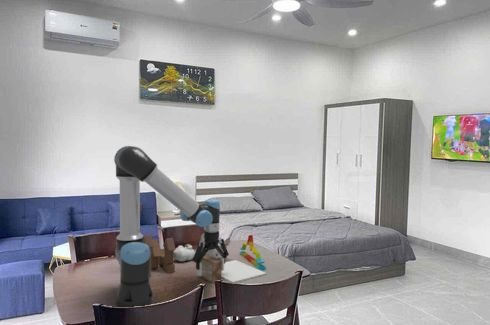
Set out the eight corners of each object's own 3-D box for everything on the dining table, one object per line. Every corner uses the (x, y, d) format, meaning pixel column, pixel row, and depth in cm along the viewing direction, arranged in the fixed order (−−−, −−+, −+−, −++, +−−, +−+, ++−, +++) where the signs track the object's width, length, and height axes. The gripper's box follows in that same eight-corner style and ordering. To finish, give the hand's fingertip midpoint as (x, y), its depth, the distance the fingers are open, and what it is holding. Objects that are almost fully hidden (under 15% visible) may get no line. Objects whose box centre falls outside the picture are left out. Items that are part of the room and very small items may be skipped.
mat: (232, 283, 177) (232, 281, 177) (203, 268, 197) (203, 267, 197) (266, 274, 191) (266, 273, 191) (235, 261, 211) (235, 260, 211)
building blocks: (139, 281, 176) (140, 208, 174) (128, 265, 198) (130, 201, 196) (177, 275, 185) (179, 206, 184) (164, 261, 207) (165, 199, 205)
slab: (212, 283, 176) (213, 262, 176) (199, 276, 186) (199, 256, 185) (221, 281, 180) (222, 260, 179) (207, 273, 189) (208, 254, 188)
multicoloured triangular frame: (265, 270, 198) (266, 242, 198) (260, 270, 197) (261, 243, 197) (244, 254, 226) (245, 230, 226) (239, 254, 225) (240, 230, 225)
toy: (194, 260, 212) (228, 262, 208) (194, 233, 211) (228, 235, 207) (199, 256, 220) (231, 257, 216) (199, 230, 220) (231, 232, 216)
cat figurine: (195, 241, 215) (172, 242, 205) (200, 251, 209) (178, 253, 200) (188, 253, 218) (166, 255, 208) (194, 263, 213) (171, 265, 203)
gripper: (194, 235, 171) (193, 280, 172) (236, 229, 187) (235, 269, 188) (185, 232, 177) (185, 275, 178) (227, 226, 192) (226, 265, 193)
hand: (210, 272), depth 183 cm, fingers open, 13 cm apart
